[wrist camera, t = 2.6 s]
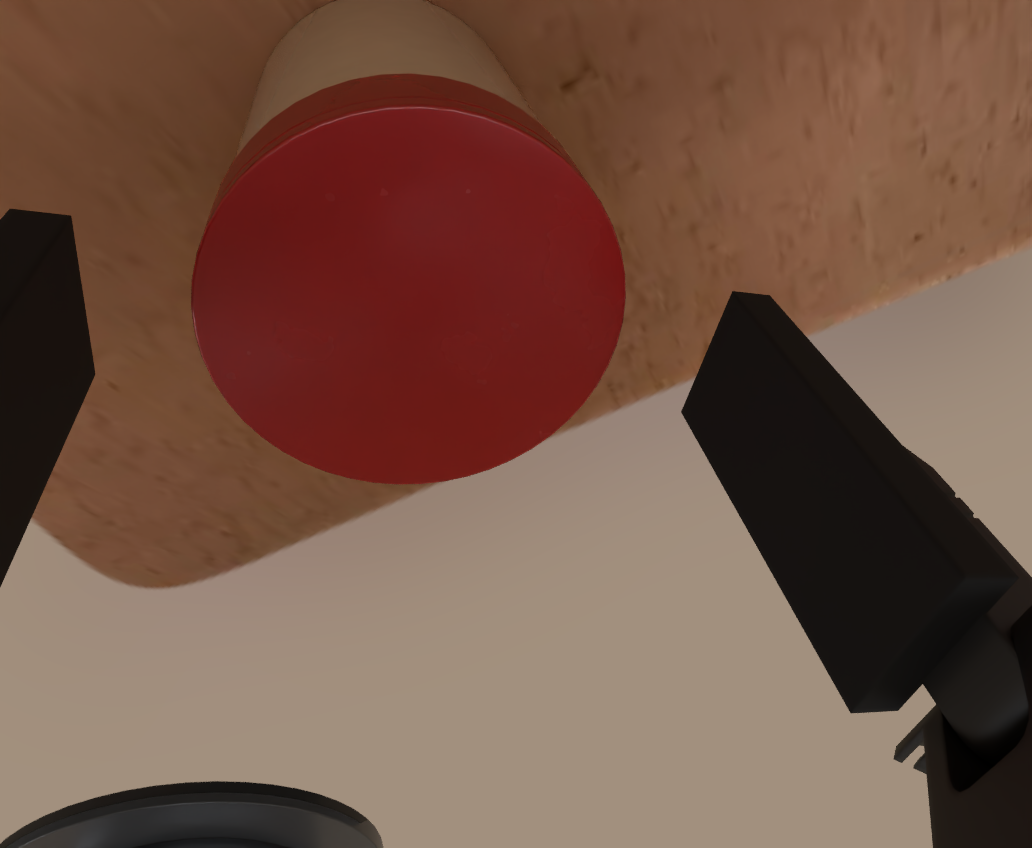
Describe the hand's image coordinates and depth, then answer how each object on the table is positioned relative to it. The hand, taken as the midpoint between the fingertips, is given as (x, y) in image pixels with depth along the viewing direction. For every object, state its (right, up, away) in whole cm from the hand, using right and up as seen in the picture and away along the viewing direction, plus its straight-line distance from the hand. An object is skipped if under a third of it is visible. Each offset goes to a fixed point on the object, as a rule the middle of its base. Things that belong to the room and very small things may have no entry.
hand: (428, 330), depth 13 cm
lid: (0, 0, +1) cm, 1 cm away
